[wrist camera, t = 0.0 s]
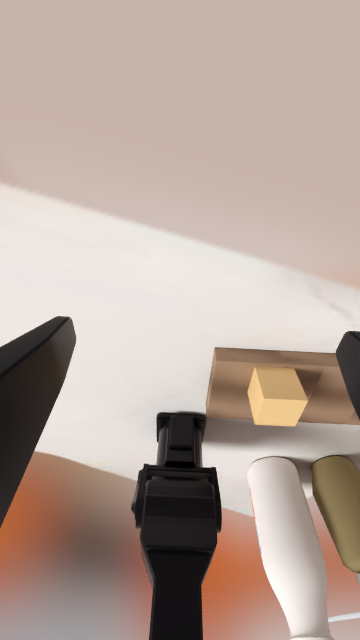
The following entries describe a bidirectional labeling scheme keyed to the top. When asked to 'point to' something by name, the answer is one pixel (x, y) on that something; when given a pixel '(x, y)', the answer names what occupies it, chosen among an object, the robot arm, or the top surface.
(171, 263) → the top surface
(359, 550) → the squeeze bottle
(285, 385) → the block
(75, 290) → the top surface
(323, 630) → the milk bottle
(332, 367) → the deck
